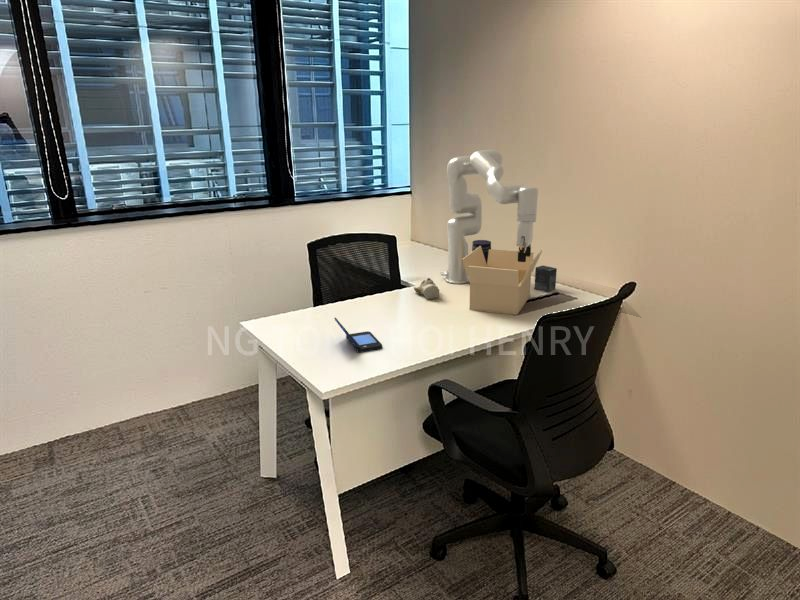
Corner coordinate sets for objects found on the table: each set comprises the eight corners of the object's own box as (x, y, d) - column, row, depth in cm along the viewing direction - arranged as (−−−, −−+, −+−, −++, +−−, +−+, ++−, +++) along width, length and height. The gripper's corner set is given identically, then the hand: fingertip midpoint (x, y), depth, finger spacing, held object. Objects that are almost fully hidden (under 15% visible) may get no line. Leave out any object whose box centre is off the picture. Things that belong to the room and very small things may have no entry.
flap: (529, 264, 206) (530, 264, 206) (541, 249, 228) (542, 250, 228) (519, 286, 210) (520, 286, 210) (531, 270, 232) (533, 270, 232)
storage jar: (470, 271, 278) (470, 243, 274) (473, 266, 287) (473, 239, 283) (489, 272, 276) (490, 244, 271) (491, 267, 285) (492, 240, 280)
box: (555, 290, 245) (557, 268, 242) (548, 292, 242) (549, 270, 238) (541, 286, 251) (542, 264, 247) (533, 289, 247) (535, 267, 244)
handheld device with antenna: (383, 349, 185) (382, 324, 182) (346, 355, 181) (345, 330, 178) (369, 333, 199) (368, 310, 196) (334, 339, 195) (333, 316, 192)
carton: (458, 310, 221) (459, 260, 214) (480, 289, 248) (481, 244, 242) (515, 317, 212) (518, 265, 205) (531, 294, 239) (533, 248, 232)
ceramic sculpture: (421, 282, 230) (412, 275, 244) (421, 301, 233) (412, 293, 247) (444, 280, 233) (434, 273, 247) (444, 299, 235) (434, 291, 249)
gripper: (521, 213, 223) (519, 253, 228) (512, 220, 208) (510, 263, 213) (539, 214, 220) (537, 254, 225) (531, 222, 205) (529, 264, 210)
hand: (524, 258), depth 219 cm, fingers open, 9 cm apart
